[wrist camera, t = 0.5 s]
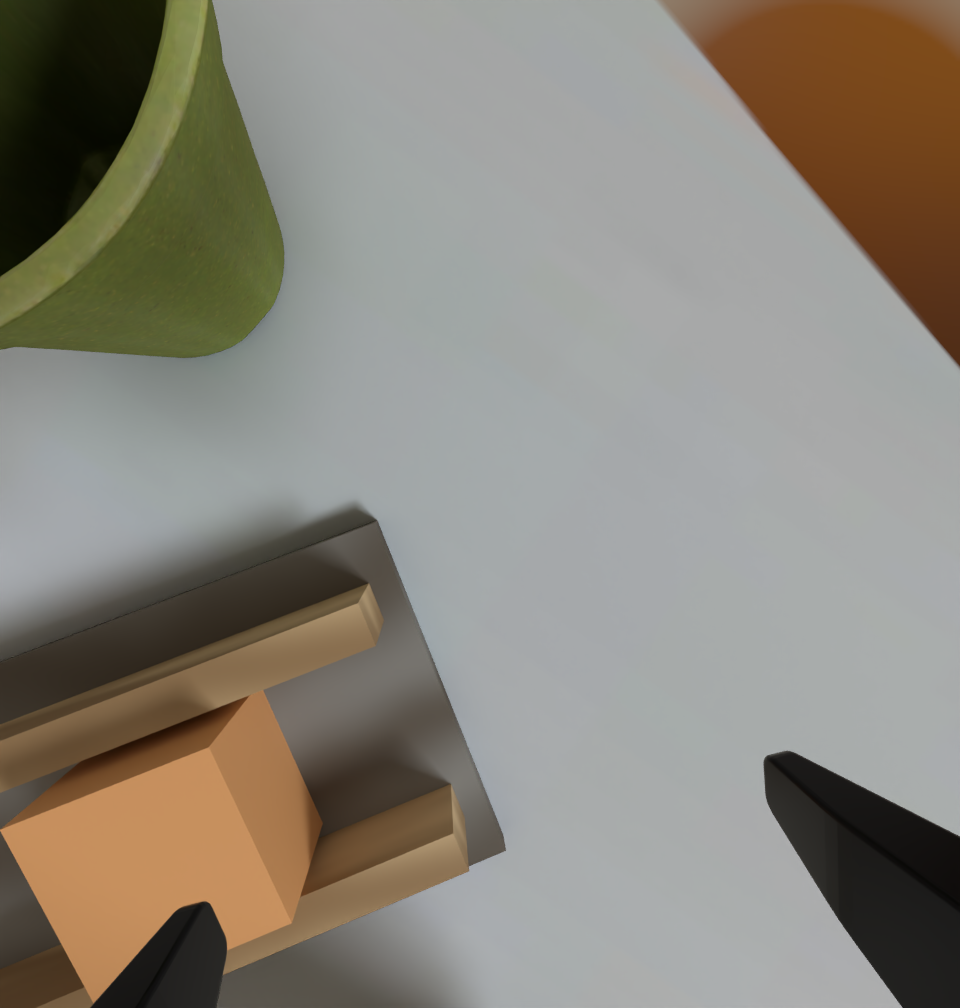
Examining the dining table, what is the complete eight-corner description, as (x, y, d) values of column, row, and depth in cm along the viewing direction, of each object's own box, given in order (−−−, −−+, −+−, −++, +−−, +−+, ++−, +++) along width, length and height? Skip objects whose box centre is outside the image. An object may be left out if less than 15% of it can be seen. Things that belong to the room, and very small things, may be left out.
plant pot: (-79, 167, 16) (-1276, -516, 5) (248, 18, 16) (-150, -918, 5) (114, 486, 17) (-461, 533, 6) (410, 340, 18) (367, 141, 7)
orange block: (322, 823, 18) (292, 923, 14) (169, 885, 18) (94, 1006, 14) (259, 682, 18) (209, 747, 14) (99, 745, 17) (-1, 829, 13)
